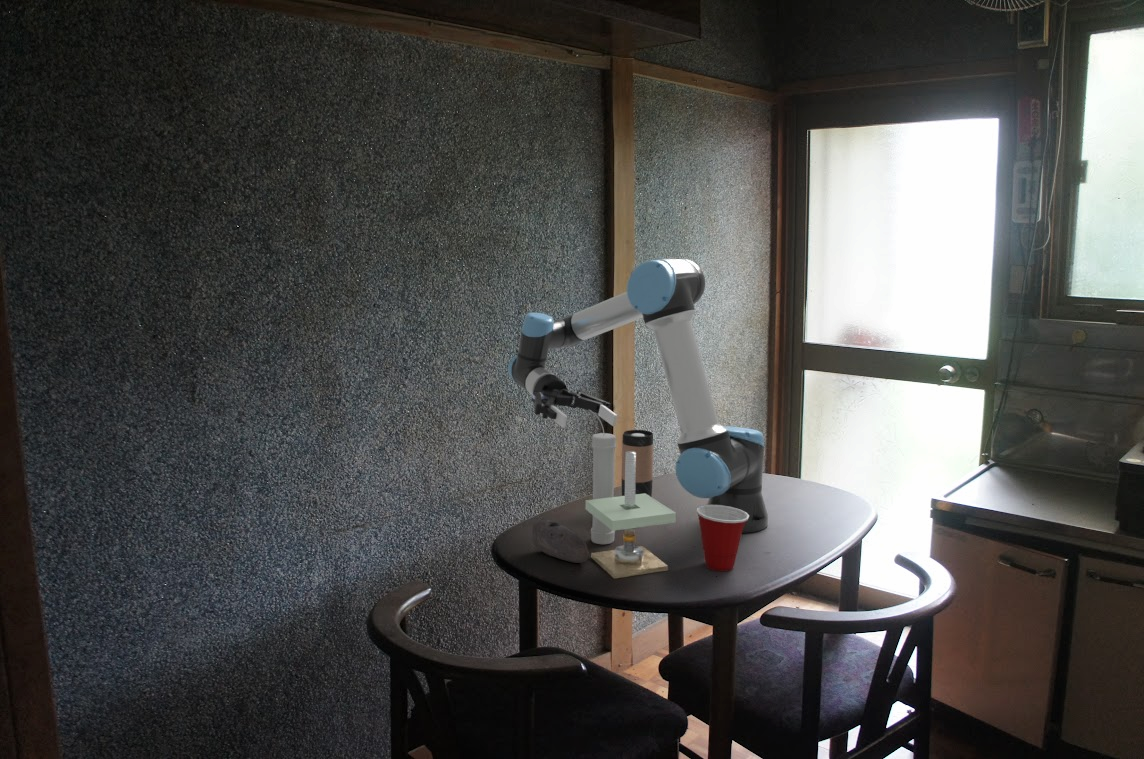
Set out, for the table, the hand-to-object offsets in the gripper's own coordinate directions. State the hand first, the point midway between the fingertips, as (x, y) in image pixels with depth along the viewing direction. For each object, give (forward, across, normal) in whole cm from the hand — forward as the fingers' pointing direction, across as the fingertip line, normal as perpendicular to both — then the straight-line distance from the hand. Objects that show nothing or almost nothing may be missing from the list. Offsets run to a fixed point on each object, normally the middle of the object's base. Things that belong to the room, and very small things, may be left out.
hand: (590, 421), depth 194 cm
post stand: (+26, +2, -21) cm, 34 cm away
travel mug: (0, -19, -25) cm, 32 cm away
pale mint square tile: (+24, +3, -11) cm, 27 cm away
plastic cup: (+37, -14, -18) cm, 43 cm away
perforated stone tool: (+17, +12, -24) cm, 32 cm away
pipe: (+12, -1, -24) cm, 27 cm away
